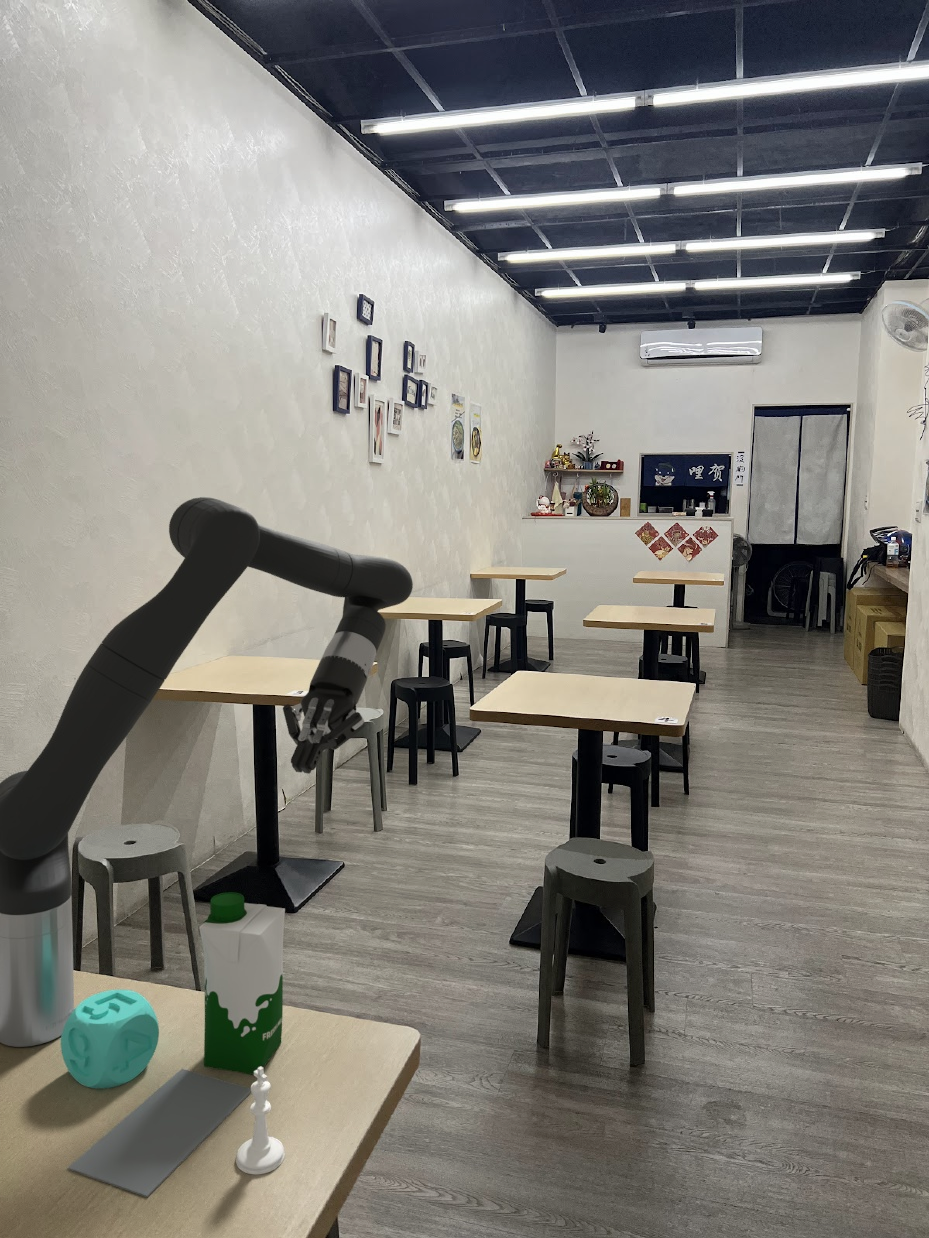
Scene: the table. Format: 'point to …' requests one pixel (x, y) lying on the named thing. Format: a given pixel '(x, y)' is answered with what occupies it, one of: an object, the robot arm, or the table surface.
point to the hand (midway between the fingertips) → (300, 769)
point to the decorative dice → (109, 1038)
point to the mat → (161, 1132)
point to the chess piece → (260, 1134)
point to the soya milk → (242, 983)
